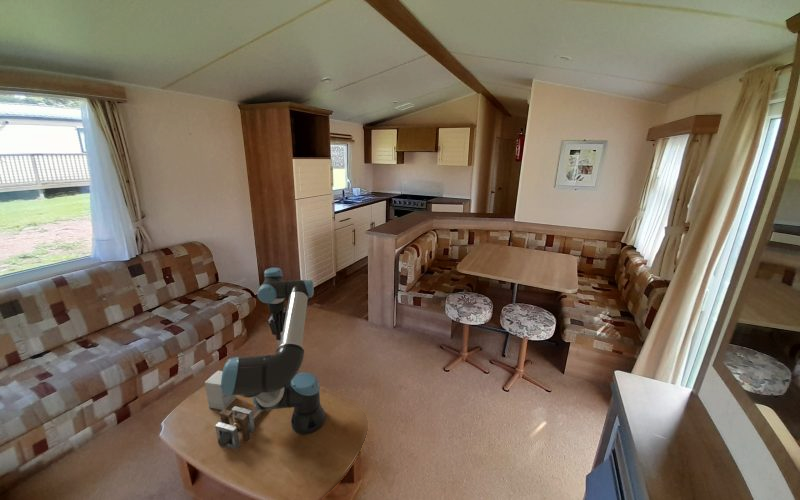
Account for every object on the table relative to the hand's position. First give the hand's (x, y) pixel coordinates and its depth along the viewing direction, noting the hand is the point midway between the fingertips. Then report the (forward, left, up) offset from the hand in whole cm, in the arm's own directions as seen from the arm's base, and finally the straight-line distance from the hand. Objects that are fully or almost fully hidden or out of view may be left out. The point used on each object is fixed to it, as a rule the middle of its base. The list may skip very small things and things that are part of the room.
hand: (280, 344), depth 155 cm
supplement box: (+26, +14, -30) cm, 42 cm away
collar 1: (+5, +33, -29) cm, 44 cm away
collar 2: (+5, +24, -29) cm, 38 cm away
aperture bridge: (+5, +29, -29) cm, 41 cm away
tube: (+5, +28, -27) cm, 39 cm away
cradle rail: (+5, +14, -29) cm, 33 cm away
